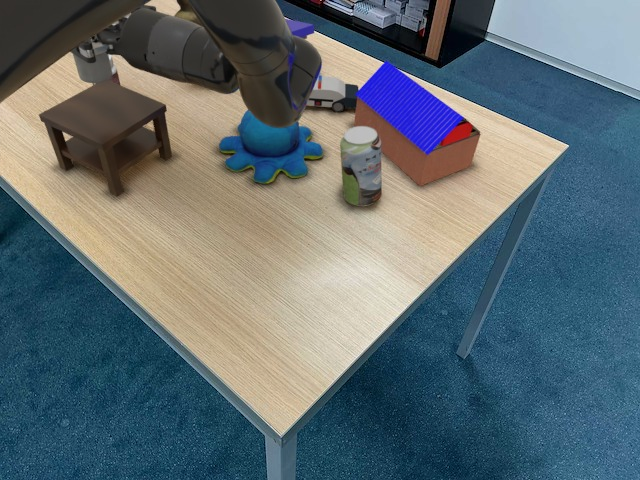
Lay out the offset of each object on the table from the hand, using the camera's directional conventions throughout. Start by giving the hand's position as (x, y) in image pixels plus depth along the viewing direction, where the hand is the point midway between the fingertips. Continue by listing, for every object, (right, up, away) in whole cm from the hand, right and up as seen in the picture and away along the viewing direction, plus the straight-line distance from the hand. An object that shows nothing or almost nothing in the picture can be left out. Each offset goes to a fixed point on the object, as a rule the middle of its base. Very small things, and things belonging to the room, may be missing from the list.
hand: (66, 16), depth 73 cm
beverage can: (+40, -24, +14) cm, 49 cm away
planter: (+2, -7, +5) cm, 9 cm away
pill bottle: (-5, -4, +29) cm, 30 cm away
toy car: (+34, -4, +32) cm, 47 cm away
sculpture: (+11, +2, +36) cm, 38 cm away
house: (+50, -13, +24) cm, 58 cm away
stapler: (+20, +10, +45) cm, 50 cm away
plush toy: (+26, -15, +21) cm, 36 cm away
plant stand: (+1, -17, +16) cm, 24 cm away
